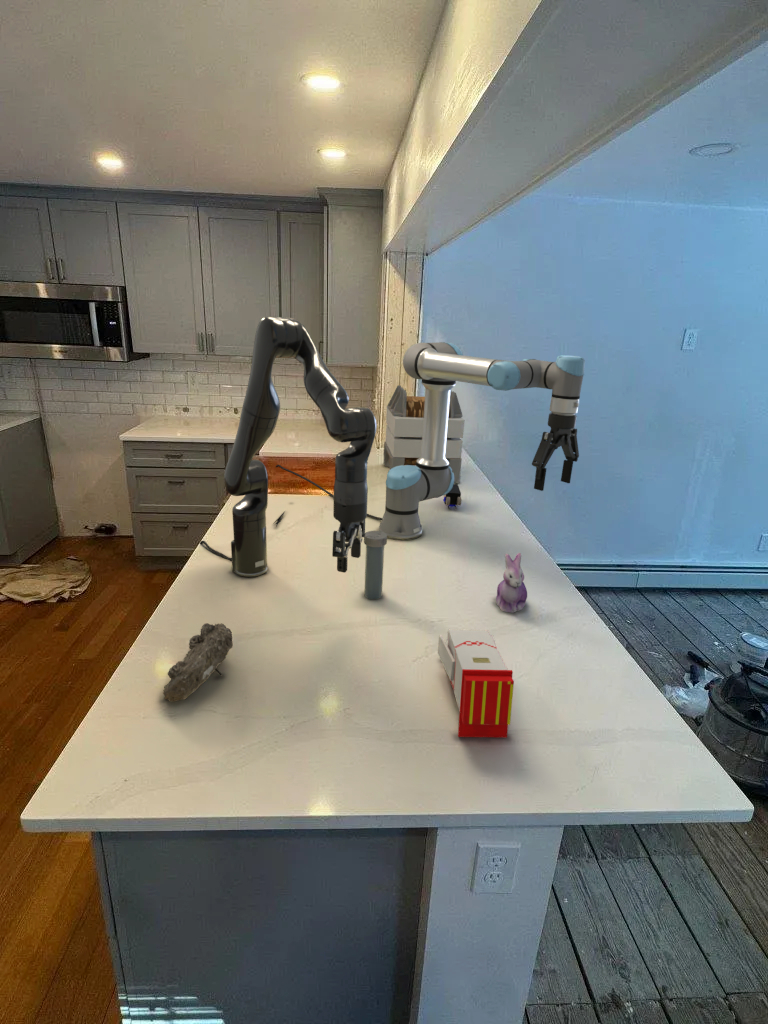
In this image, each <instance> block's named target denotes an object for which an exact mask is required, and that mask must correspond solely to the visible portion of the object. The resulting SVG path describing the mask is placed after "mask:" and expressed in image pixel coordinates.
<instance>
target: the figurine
mask: <svg viewBox="0 0 768 1024" xmlns="http://www.w3.org/2000/svg"><path fill="white" fill-rule="evenodd" d="M511 557H512V556H511V555H509V553H505V555H504V559H505V560H504V561H505V569H504V571H503V580H502V581H500V582H499V583H498V585H497V589H496V597H495V603H496V606H497V607H499V609H500V610H501V611H502V612H505V613H512V614H513V613H517V612H519V611H522V610H523V609H524V608H525V605H526V602H527V599H528V590H527V586H526V584H525V582H524V580H525V574H524V571H523V569H522V567H521V562H522V561H521V560H522V553H521V552H518V553H516V554H515V557H514V559H512V558H511Z"/></svg>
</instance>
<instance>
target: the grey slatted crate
mask: <svg viewBox="0 0 768 1024" xmlns="http://www.w3.org/2000/svg"><path fill="white" fill-rule="evenodd" d="M407 394H408V393H407V390H406V389H404V388H403V387H402V385H399V384H398V385H397V386H396V388H395V390H394V392H393V394H392V395H391V398H390V400H389V402H388V404H387V405H386V413H385V414H386V415H385V423H386V428H385V438H384V442H383V466H384V467H388V468H389V470H390V469H392V468H394V467H396V466H401V465H404V466H405V465H413V466H416V461H417V459H418V458H420V457H421V449H422V434H423V419H424V404H425V396H415V395H414V396H413V395H412V396H411V395H407ZM464 429H465V419H464V418H463V411H462V408H461V405H460V402H459V398H458V395H457V392H455V391H453V390H451V392H450V404H449V416H448V428H447V441H446V453H445V458H446V459H447V461H448V462H449V466H450V467H451V469H452V473H454V484H459V483H461V472H462V461H463V460H462V453H463V442H464V441H463V440H462V439H463V438H464V431H465V430H464Z"/></svg>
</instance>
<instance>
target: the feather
mask: <svg viewBox="0 0 768 1024" xmlns="http://www.w3.org/2000/svg"><path fill="white" fill-rule="evenodd" d="M285 512H286V510H285V511H283V513H281V515H279V516H278V518H276V520H275V521H274V522H273V524H272V525H274V524H275V528H277V527H278V525H279V523H280V521H281V519H282V517H283V516H284V514H285Z"/></svg>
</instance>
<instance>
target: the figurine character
mask: <svg viewBox="0 0 768 1024" xmlns="http://www.w3.org/2000/svg"><path fill="white" fill-rule="evenodd" d="M442 500H443V502H444V504H445V506H447V509H448V510H451V508H453V507H454V510H457V509H458V507H459V506H461V505H462V492H461V490H460V486H459V483H454V484H453V487H452V489H451V490H450V491H449V492H448V493H447V494H445V495H443V499H442ZM450 507H451V508H450Z"/></svg>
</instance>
